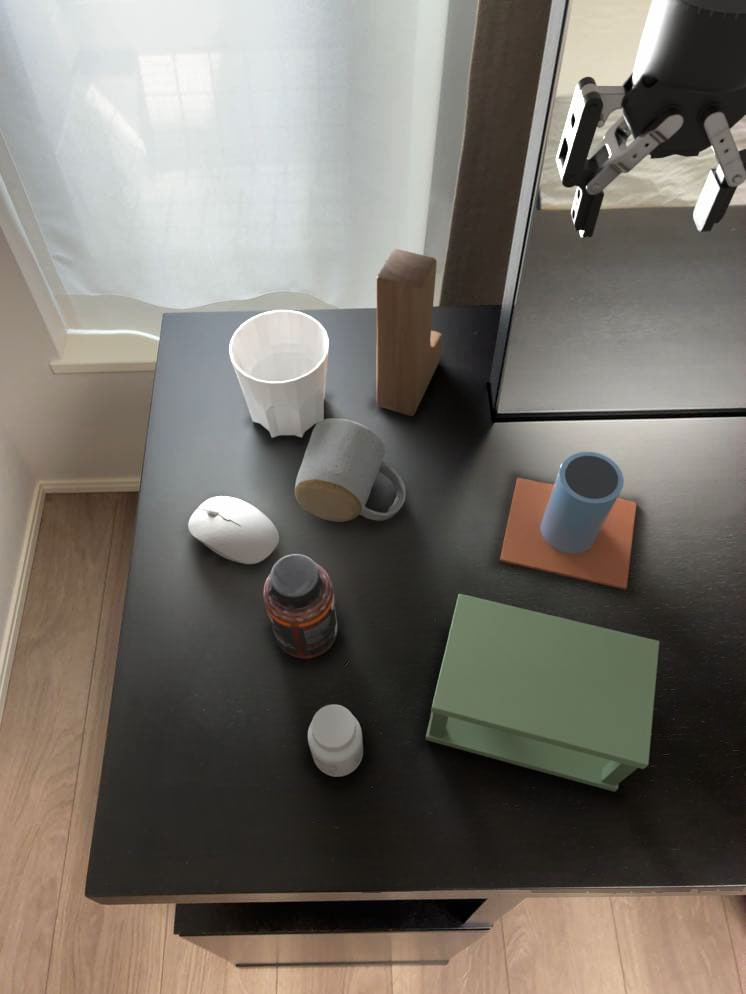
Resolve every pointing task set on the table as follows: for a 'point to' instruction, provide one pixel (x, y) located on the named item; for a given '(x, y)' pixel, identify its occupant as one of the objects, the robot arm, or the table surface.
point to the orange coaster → (532, 551)
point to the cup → (282, 370)
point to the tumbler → (581, 501)
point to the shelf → (545, 693)
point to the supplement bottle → (301, 606)
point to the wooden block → (405, 330)
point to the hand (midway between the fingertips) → (642, 227)
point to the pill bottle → (335, 740)
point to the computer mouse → (234, 529)
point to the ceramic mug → (344, 472)
